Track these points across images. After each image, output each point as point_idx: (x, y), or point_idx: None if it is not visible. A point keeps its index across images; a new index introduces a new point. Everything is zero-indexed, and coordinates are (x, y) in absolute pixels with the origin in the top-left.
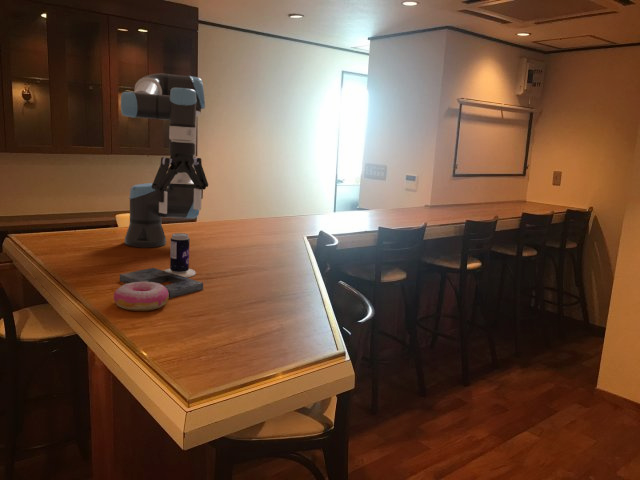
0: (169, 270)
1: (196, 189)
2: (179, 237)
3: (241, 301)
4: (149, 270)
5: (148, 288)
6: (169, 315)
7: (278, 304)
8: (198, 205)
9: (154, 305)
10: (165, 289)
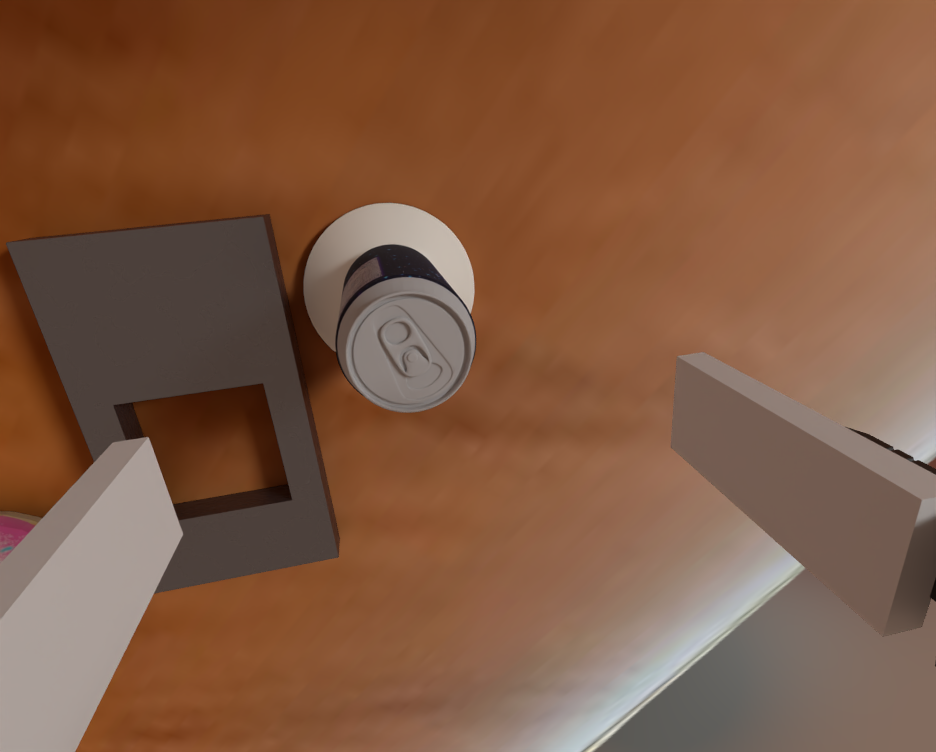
0: (363, 237)
1: (898, 556)
2: (370, 397)
3: (373, 685)
4: (212, 260)
5: None
6: None
7: (450, 739)
8: (702, 459)
9: None
10: None
